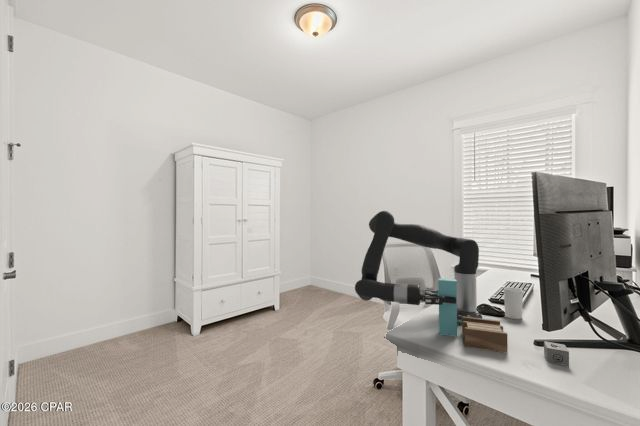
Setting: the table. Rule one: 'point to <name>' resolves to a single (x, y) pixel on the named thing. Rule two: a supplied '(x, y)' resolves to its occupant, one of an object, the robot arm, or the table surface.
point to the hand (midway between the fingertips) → (455, 298)
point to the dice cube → (556, 353)
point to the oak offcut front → (484, 328)
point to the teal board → (448, 308)
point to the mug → (513, 302)
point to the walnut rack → (484, 335)
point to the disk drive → (466, 314)
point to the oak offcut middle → (483, 326)
